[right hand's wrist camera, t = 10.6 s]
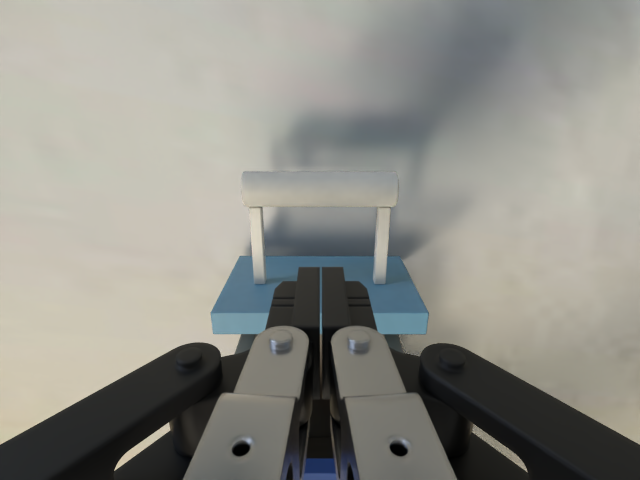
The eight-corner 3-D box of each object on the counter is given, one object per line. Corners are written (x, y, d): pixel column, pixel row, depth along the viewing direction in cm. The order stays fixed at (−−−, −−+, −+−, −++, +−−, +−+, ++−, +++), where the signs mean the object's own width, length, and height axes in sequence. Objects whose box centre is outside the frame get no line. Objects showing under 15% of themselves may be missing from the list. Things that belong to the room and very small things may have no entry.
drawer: (231, 160, 21) (194, 185, 15) (408, 160, 21) (445, 185, 15) (254, 431, 28) (236, 523, 22) (384, 431, 28) (402, 524, 22)
